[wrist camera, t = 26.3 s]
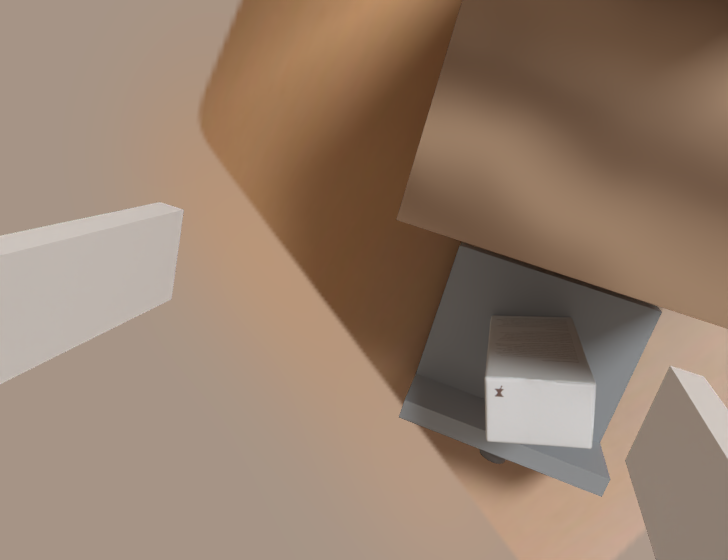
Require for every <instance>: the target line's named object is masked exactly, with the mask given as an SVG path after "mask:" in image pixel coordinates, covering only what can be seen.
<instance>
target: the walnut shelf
mask: <svg viewBox="0 0 728 560" xmlns="http://www.w3.org/2000/svg"><path fill="white" fill-rule="evenodd" d="M396 220H398V221H401V222H404V223H407V224H410V225H413V226H416V227H419V228H422V229H425V230H429V231H432V232H435V233H438V234H441V235H444V236H447V237H450V238H453V239H456V240H459V241H462V242H465V243H468V244H471V245H474V246H477V247H480V248H483V249H486V250H489V251H492V252H495V253H499V254H502V255H505V256H508V257H511V258H514V259H517V260H520V261H523V262H526V263H529V264H532V265H535V266H538V267H541V268H544V269H547V270H550V271H553V272H556V273H559V274H562V275H565V276H569V277H572V278H575V279H578V280H581V281H584V282H587V283H590V284H593V285H596V286H599V287H602V288H605V289H608V290H611V291H614V292H617V293H620V294H623V295H626V296H629V297H632V298H635V299H638V300H642V301H645V302H648V303H651V304H654V305H657V306H660V307H663V308H666V309H669V310H672V311H675V312H678V313H681V314H684V315H687V316H690V317H693V318H696V319H699V320H702V321H705V322H708V323H712V324H715V325H718V326H721V327H724V328H727V329H728V0H462V3H461V6H460V10H459V13H458V16H457V20H456V23H455V26H454V30H453V33H452V36H451V40H450V43H449V46H448V50H447V53H446V56H445V60H444V63H443V66H442V70H441V73H440V76H439V79H438V83H437V86H436V89H435V93H434V96H433V99H432V103H431V106H430V109H429V113H428V116H427V119H426V123H425V126H424V129H423V133H422V136H421V139H420V143H419V146H418V149H417V153H416V156H415V159H414V163H413V166H412V169H411V173H410V176H409V179H408V183H407V186H406V189H405V193H404V196H403V199H402V203H401V206H400V209H399V213H398V216H397V219H396Z"/></svg>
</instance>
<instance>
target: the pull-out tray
mask: <svg viewBox="0 0 728 560" xmlns="http://www.w3.org/2000/svg"><path fill="white" fill-rule="evenodd" d="M661 313H662V312H661V310H660V309H659V308H658V307H657V306H655V305H652V304H649V303H646V302H643V301H639V300H636V299H633V298H630V297H627V296H624V295H621V294H618V293H615V292H612V291H609V290H606V289H603V288H600V287H597V286H594V285H591V284H588V283H585V282H582V281H579V280H576V279H573V278H570V277H566V276H563V275H560V274H557V273H554V272H551V271H548V270H545V269H542V268H539V267H536V266H533V265H530V264H527V263H524V262H521V261H518V260H515V259H512V258H509V257H506V256H503V255H500V254H497V253H494V252H490V251H487V250H484V249H481V248H478V247H475V246H472V245H469V244H466V243H463V242H461V244H460V246H459V249H458V252H457V255H456V258H455V261H454V264H453V266H452V269H451V272H450V275H449V278H448V281H447V284H446V287H445V290H444V293H443V296H442V299H441V302H440V305H439V308H438V310H437V313H436V316H435V319H434V322H433V325H432V328H431V331H430V334H429V337H428V340H427V343H426V346H425V349H424V352H423V354H422V357H421V360H420V363H419V366H418V369H417V372H416V375H415V377H414V379H413V382H412V384H411V386H410V389H409V391H408V393H407V396H406V398H405V401H404V404H403V407H402V409H401V412H400V415H399V417H400V418H402V419H404V420H407V421H410V422H412V423H415V424H417V425H420V426H422V427H425V428H427V429H430V430H433V431H435V432H438V433H440V434H443V435H445V436H448V437H450V438H453V439H456V440H458V441H461V442H463V443H466V444H468V445H471V446H473V447H476V448H478V449H480V453H481V455H482V456H483V457H484V458H486V459H487V460H489V461H491V462H493V463H498V464H501V463H504V462H505V460H506V459H507V460H509V461H512V462H514V463H517V464H519V465H522V466H524V467H527V468H530V469H532V470H535V471H537V472H540V473H542V474H545V475H547V476H550V477H552V478H555V479H558V480H560V481H563V482H565V483H568V484H570V485H573V486H575V487H578V488H581V489H583V490H586V491H588V492H591V493H593V494H596V495H598V496H601V497H602V495H603V493H604V491H605V489H606V487H607V485H608V483H609V481H610V477H609V473H608V469H607V466H606V462H605V459H604V455H603V452H602V448H601V445H600V441H601V439H602V437H603V435H604V433H605V431H606V429H607V427H608V424H609V422H610V420H611V418H612V416H613V414H614V412H615V410H616V408H617V405H618V403H619V401H620V399H621V397H622V395H623V393H624V391H625V389H626V386H627V384H628V382H629V380H630V378H631V376H632V374H633V372H634V370H635V368H636V365H637V363H638V361H639V359H640V357H641V355H642V353H643V351H644V349H645V346H646V344H647V342H648V340H649V338H650V336H651V334H652V332H653V330H654V327H655V325H656V323H657V321H658V319H659V317H660V315H661ZM493 315H496V316H535V317H571V318H572V319H573V321H574V324H575V327H576V330H577V333H578V336H579V338H580V341H581V344H582V347H583V350H584V353H585V356H586V358H587V361H588V364H589V367H590V369H591V372H592V375H593V377H594V380H595V382H596V398H595V414H594V427H593V441H592V448H591V449H586V448H573V447H559V446H545V445H529V444H515V443H502V442H488V441H487V440H486V427H485V381H484V378H485V372H486V361H487V351H488V340H489V331H490V320H491V316H493Z"/></svg>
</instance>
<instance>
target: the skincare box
mask: <svg viewBox="0 0 728 560" xmlns="http://www.w3.org/2000/svg"><path fill="white" fill-rule="evenodd" d="M484 381H485V427H486V440H487V441H488V442H502V443H515V444H529V445H545V446H559V447H573V448H586V449H591V448H592V441H593V427H594V414H595V398H596V382H595V380H594V377H593V375H592V372H591V369H590V367H589V364H588V361H587V358H586V356H585V353H584V350H583V347H582V344H581V341H580V338H579V336H578V333H577V330H576V327H575V324H574V321H573V319H572V318H571V317H535V316H496V315H493V316H491V320H490V331H489V340H488V351H487V361H486V372H485V378H484Z"/></svg>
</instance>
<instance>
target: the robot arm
mask: <svg viewBox="0 0 728 560" xmlns="http://www.w3.org/2000/svg"><path fill="white" fill-rule="evenodd" d="M183 213H184V210H183V209H180V208H177V207H174V206H171V205H168V204H165V203H161V202H158V203H153V204H148V205H144V206H139V207H135V208H130V209H125V210H121V211H115V212H111V213H106V214H101V215H97V216H92V217H87V218H82V219H78V220H73V221H68V222H63V223H59V224H55V225H50V226H45V227H40V228H35V229H30V230H26V231H21V232H16V233H12V234H7V235H3V236H0V384H2V383H4V382H6V381H8V380H10V379H11V378H14V377H16V376H18V375H20V374H22V373H24V372H26V371H28V370H30V369H32V368H34V367H36V366H38V365H40V364H42V363H44V362H46V361H48V360H50V359H52V358H54V357H56V356H58V355H60V354H62V353H64V352H66V351H68V350H70V349H72V348H74V347H76V346H78V345H80V344H82V343H84V342H86V341H88V340H90V339H92V338H94V337H96V336H98V335H100V334H102V333H104V332H106V331H108V330H110V329H112V328H114V327H116V326H118V325H120V324H122V323H125V322H126V321H128V320H130V319H133V318H135V317H137V316H138V315H140V314H143V313H144V312H147V311H149V310H151V309H153V308H154V307H156V306H159V305H161V304H163V303H165V302H167V301H169V300H171V298H172V291H173V283H174V276H175V269H176V262H177V255H178V248H179V241H180V234H181V226H182V219H183ZM625 461H626V465H627V468H628V471H629V474H630V478H631V481H632V484H633V487H634V491H635V494H636V497H637V500H638V503H639V507H640V510H641V513H642V516H643V520H644V523H645V526H646V529H647V532H648V536H649V539H650V542H651V546H652V549H653V552H654V555H655V559H656V560H728V409H727V408H726V406H725V405H724V404H723V402H722V401H721V399H720V398H719V397H718V395H717V394H716V393H715V391H714V390H713V388H712V387H711V386H710V384H709V383H708V381H707V380H706V379H705V377H704V376H701V375H698V374H695V373H691V372H688V371H685V370H682V369H679V368H676V367H673V366H670V367H669V369H668V371H667V373H666V375H665V377H664V380H663V382H662V384H661V386H660V388H659V390H658V392H657V394H656V396H655V399H654V401H653V403H652V405H651V407H650V409H649V411H648V413H647V415H646V418H645V420H644V422H643V424H642V426H641V428H640V430H639V432H638V434H637V437H636V439H635V441H634V443H633V445H632V447H631V449H630V451H629V453H628V455H627V458H626V460H625Z"/></svg>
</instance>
